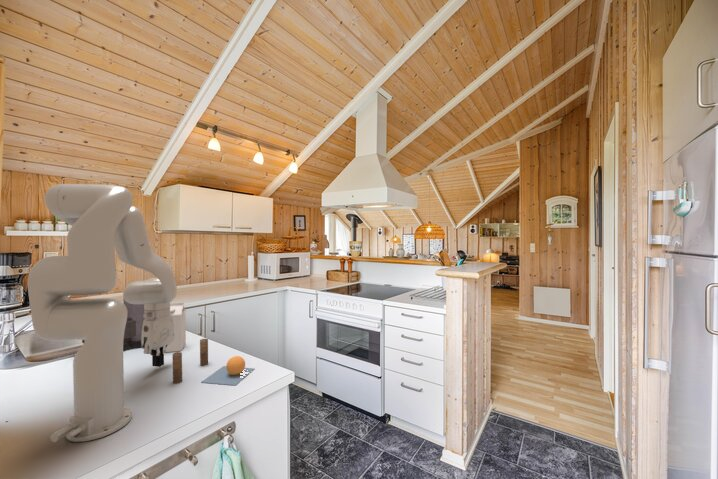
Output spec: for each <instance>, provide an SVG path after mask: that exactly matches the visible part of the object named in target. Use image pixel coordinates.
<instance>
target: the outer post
mask: <svg viewBox="0 0 718 479" xmlns="http://www.w3.org/2000/svg"><path fill="white" fill-rule="evenodd" d="M199 364H200V365H201V367H203V366H204V367H205V365H206V366H208V365H209V339H208V338H202V339H201V338H200V340H199Z"/></svg>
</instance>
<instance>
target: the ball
mask: <svg viewBox="0 0 718 479" xmlns="http://www.w3.org/2000/svg"><path fill="white" fill-rule="evenodd" d="M225 366H226V369H227V372H228V373H229V374H231V375H238V374H240V373H241V372H242V371H243V370H244V368H246V360H245V359H244V358H243V357H242V356H239V355H235V356H232V357H231V358H229V359H228V360H227V362H226V364H225Z"/></svg>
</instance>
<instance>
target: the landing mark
mask: <svg viewBox="0 0 718 479" xmlns="http://www.w3.org/2000/svg"><path fill="white" fill-rule="evenodd" d="M244 369H246V370H244V371H245V372H249V373H250V372H251V371H252V372H253V371H254V370H256V369H255V367H254V368H253V367H245V368H244ZM247 370H248V371H247ZM252 372H251V373H252ZM241 373H243V372H241ZM249 373H248V374H245V375H246V376H243V375H240V374H238V375H231V374H229V373H228V372H227V369H226V365H223V366H222V367H220V368H219V369H217V370H216V371H215V372H213V373H211V374H210V375H208V377H206V378H205V379H204V380H202V381H201V384H202V383H203V384H213V385H222V384H223V385H222V386H233V385H236V386H237V385H238V384H240V381H241V380H242V379H243V378H240V376H243V377H245V378H246V377H247V376H248V375H250V374H251V373H250V374H249ZM243 380H244V379H243ZM243 380H242V381H243ZM242 381H241V382H242Z"/></svg>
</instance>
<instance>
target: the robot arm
mask: <svg viewBox="0 0 718 479" xmlns="http://www.w3.org/2000/svg"><path fill="white" fill-rule="evenodd" d="M133 200H134V197H133V193H132V192H131V190H129V188H127V187H124V186H122V185H117V184H116V185H115V184H100V183H99V184H97V183H94V184H93V183H92V184H91V183H90V184H89V183H59V184H58V183H57V184H54V185H52V186H51V187H49V188H48V189H47V190H46V193H45V195H44V203H45V206H46V207H47V209H48V211H49V213H51V214H52V216H54V217H55V218H57V219H58V220H61V221H62V222H64V223H65V224H68V225H69V226H71V227H70V228H69V230H68V233H67V235H66V245H67V246H66V247H67V248H66V249H67V255H52V256H45V257H43V258H41V259H39V260H37V261H36V262H35V263H34V264H33V266H31V269H30V270H29V272H28V277H27V294H28V299H29V301H28V302H29V307H30V316H31V322H32V327H33V330H34V333H35V335H36V336H37V337H38V338H40V339H42V340H44V341H54V342H55V341H71V340H78V341H79V340H81V341H82V339H83V340H85V343H84V344H83V343H82V345H81V347H80V348H79V349H78V350H77V352H76V353H75V355H74V358H73V360H72V362H73V363H72V376H73V377H72V378H73V380H72V381H73V382H72V383H73V415H72V416H71V417H69V419H68V423H67V424H66V425H65V426H64V427H63V428H60V429H58V430H57V431H55V432H53V433H52V434H51V435H50V437H49V438H50V441H51V442H53V443H56V442H58V441H60V440H61V439H64V438H66V439H67V440H68V441H69V442H77V443H81V442H89V441H94V440H97V439H100V438H103V437H106V436H108V435H110V434H113V433H115V432H116V431H118V430H121V429H122V428H123V427H125V426H126V425H127V424H128V423H129V422H130V421H131V419H132V416H133V411H132V410H131V409H130V408H128V407H125V380H124V379H125V378H124V376H125V375H124V374H125V371H124V351H123V341H124V332H125V326H126V321H127V315H128V311H127V307H126V306H125V304H124V302H123V301H121V300H119V299H114V298H107V297H105V298H83V299H80V298H79V299H69V297H71V296H75V297H77V296H95V295H97V296H98V295H103V294H107V293H109V292H110V291H112V290H113V289H114V288H115V286H116V284H117V265H116V262H117V261H116V255H117V259H118V260H119V261H121V262H122V263H124V264H125V265H128V266H132V267H135V268H138V269H140V270H144V271H146V272H149V273H150V274H152V275H153V276H155V277H152V278H151V277H150V278H147V279H146V280H135V281H131V282H130V283H128V284H127V285H126V286H125V287H124V290H123V292H122V296H123V297H124V299H125V301H126V302H128V303H130V304H144V315H143V317H144V319H145V320H144V321H143V326H142V336H141V344H142V348H141V349H142V350H143V354H144V355H150V356H151V358H152V360H151V362H152V367H156V368H157V367H159V368H160V367H162V366H164V365H165V354H166V352H165V351H166V347H167V346H168V345H169V344H170V343H171V342H172V341H173V340H174V338H175V334H174V323H173V318H172V315H171V314H170V303H171V302H172V301H174V300H175V299H176V297H177V293H178V288H177V282H176V278H175V274H174V270H173V268H172V267H171V266H170V265H169V264H168V263H167V261H166V260H165V259H163V258H162V257H161V256H160V255H158V254H157V253H155V252H154V251H153V249H152V246H151V243H150V242H151V241H150V239H149V235H148V231H147V226H146V223H145V219H144V215H143V213H142V211H141V210H140V208H138V207H136V206H134V205H133ZM115 254H116V255H115ZM124 299H123V300H124Z"/></svg>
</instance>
